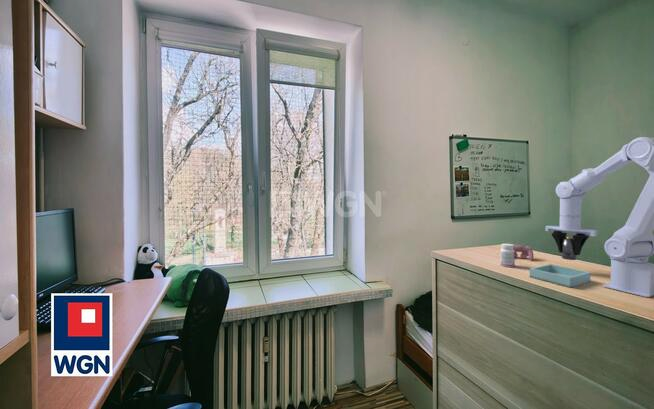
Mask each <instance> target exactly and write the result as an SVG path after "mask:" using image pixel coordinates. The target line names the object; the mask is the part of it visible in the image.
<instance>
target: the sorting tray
mask: <svg viewBox="0 0 654 409" xmlns="http://www.w3.org/2000/svg"><path fill="white" fill-rule="evenodd" d="M591 274H592V272H590V271H585V270H580V269H576V268H571V267H568V266H567V267H566V266H562V265H556V264H552V263H547V264H543V265H539V266H535V267H530V268H529V278H532V279H535V280H539V281H543V282H546V283H551V284H554V285H558V286H561V287H565V288H568V289H569V288H570V289H571V288H573V287H577V286H580V285H584V284H587V283H590V282H591Z"/></svg>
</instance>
